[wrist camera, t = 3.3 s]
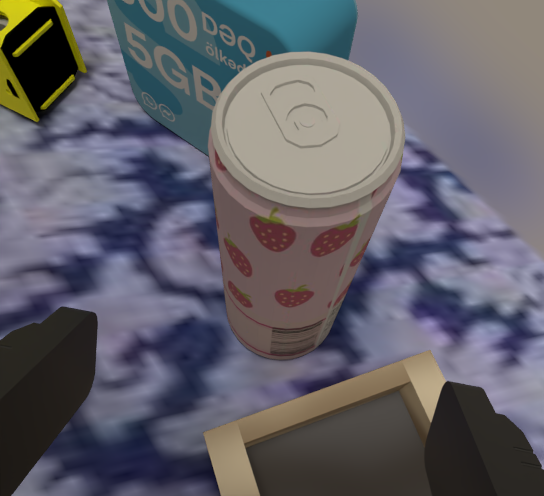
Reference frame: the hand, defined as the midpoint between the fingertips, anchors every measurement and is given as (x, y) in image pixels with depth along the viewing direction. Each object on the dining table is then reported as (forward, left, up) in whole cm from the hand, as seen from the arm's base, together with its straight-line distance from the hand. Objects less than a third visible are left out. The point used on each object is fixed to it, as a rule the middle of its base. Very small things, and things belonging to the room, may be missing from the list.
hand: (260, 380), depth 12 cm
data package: (-18, +4, -14) cm, 23 cm away
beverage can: (-6, +3, -14) cm, 16 cm away
